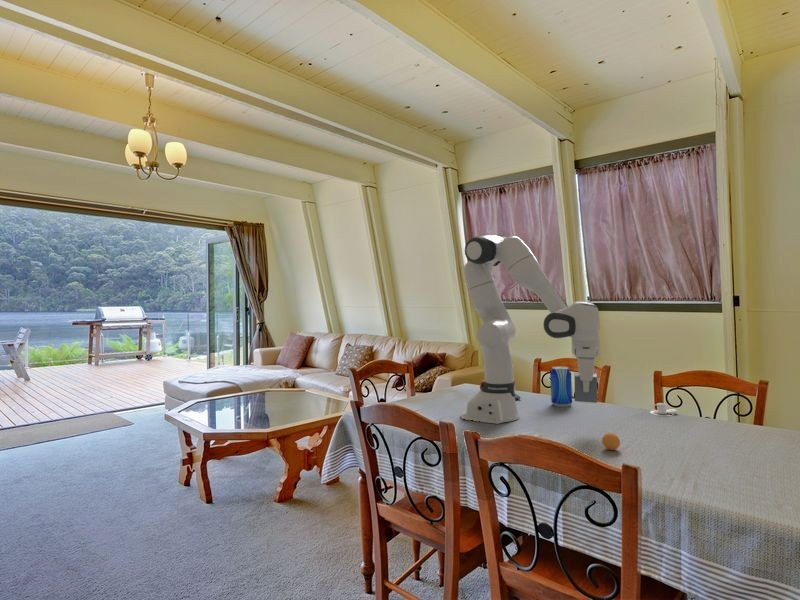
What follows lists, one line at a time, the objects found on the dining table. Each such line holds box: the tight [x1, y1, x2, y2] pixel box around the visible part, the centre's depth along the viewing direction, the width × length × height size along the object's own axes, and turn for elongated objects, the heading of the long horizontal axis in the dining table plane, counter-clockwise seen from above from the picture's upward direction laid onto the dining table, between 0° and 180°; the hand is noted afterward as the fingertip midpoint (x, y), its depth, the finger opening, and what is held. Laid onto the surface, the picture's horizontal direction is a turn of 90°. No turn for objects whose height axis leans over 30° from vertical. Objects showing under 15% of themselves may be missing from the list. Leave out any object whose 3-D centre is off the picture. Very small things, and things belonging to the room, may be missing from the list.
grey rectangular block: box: [574, 371, 598, 404], centre depth 158 cm, size 7×7×9 cm
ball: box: [601, 432, 621, 451], centre depth 141 cm, size 5×5×5 cm
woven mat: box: [515, 392, 521, 401], centre depth 211 cm, size 10×11×2 cm
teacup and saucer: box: [649, 402, 678, 417], centre depth 176 cm, size 9×8×4 cm
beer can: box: [549, 365, 573, 408], centre depth 195 cm, size 8×8×16 cm
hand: (585, 388), depth 158 cm, fingers closed on grey rectangular block, 7 cm apart
